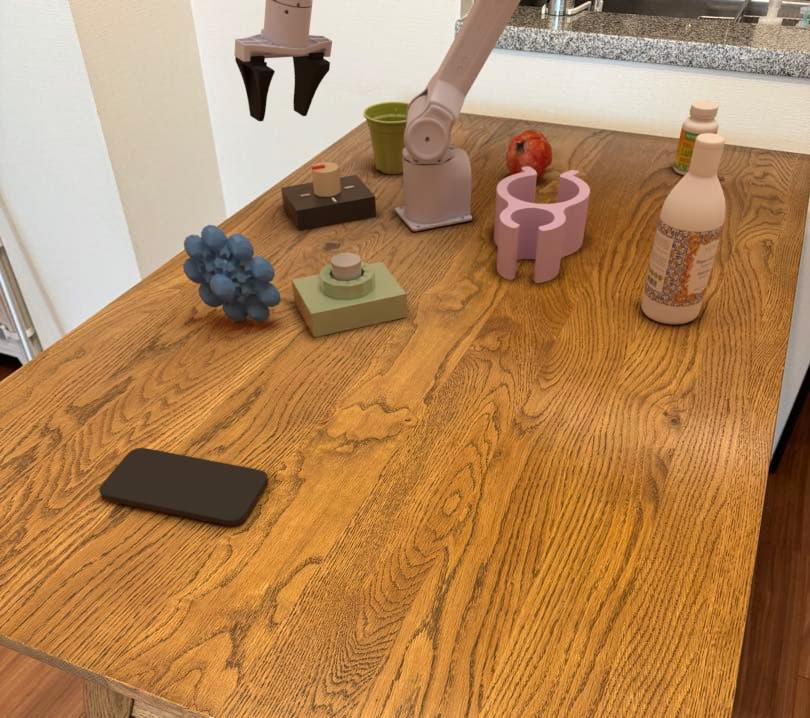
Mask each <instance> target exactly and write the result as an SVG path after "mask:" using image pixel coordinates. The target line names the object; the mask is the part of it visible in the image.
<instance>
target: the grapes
mask: <svg viewBox="0 0 810 718" xmlns="http://www.w3.org/2000/svg"><path fill="white" fill-rule="evenodd" d="M183 248H184V251H185V252H186V254H187V256H188V258H187V259H185V260H184V262H183V265H182V269H183V273H184V274H185V276H186V278H187V279H188V280H189V281H191V282H193V283H195V284H197V285H199V287H198V290H197V291H198V295H199V297H200V299H201V300H202V302H203V303H204V304H205V305H207V306H208V307H210V308H218V307H220V306H222V311H223V313H224V315H225V316H226V318H228V319H229V320H230V321H232V322H234V323H242V322H244V321H246V320H247V318H248V317H249V318H250V319H251V320H252V321H254V322H256V323H264V322H266V321H268V320H269V318H270V316H271V313H270V308H274V307H276V306H278V305H279V304H280V303H281V299H282V298H281V293H280V291H279V289H278V288H277V286H276V285H274V283H271V282H272V281H273V280H274V278H275V275H276V274H275V268H274V266H273V265H272V263H271V261H270V260H268V259H267V258H265V257H264V256H260V255H255V250H254V246H253V244H252V242H251V240H250V239H249V238H248V237H247V236H244V234H242V233H233V234H231V235H230V236H228V237H227V235H226V233H225V232H224V230H223V229H221V228H219V227H218V226H216V225H213V224H207V225H206V226H204V227H203V228H202V230H201V232H200V235H198V234H190V235H188V236H186V237H185V239H184V241H183ZM254 255H255V256H254Z"/></svg>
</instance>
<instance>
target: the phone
mask: <svg viewBox="0 0 810 718" xmlns="http://www.w3.org/2000/svg"><path fill="white" fill-rule="evenodd" d="M268 484H269V479H268V474H267V473H266V471H264V470H261V469H256V468H252V467H246V466H240V465H236V464H231V463H226V462H220V461H215V460H210V459H204V458H200V457H194V456H188V455H184V454H179V453H173V452H167V451H162V450H157V449H152V448H146V447H137V448H134V449H131V450H130V451H129V452H128V453H127V454H126V455H125V456H124V457H123V459H122V460H121V461H120V462H119V463H118V464H117V466H116V467H115V468H114V469H113V470H112V472H111V473H110V474H109V475H108V476H107V478H106V479H104V481H103V482H102V484H100V486H99V494H100V496H101V498H102V499H103V500H105V501H109V502H114V503H118V504H123V505H128V506H133V507H138V508H143V509H148V510H152V511H157V512H162V513H165V514H166V513H167V514H171V515H176V516H180V517H185V518H191V519H195V520H199V521H204V522H205V521H206V522H211V523H214V524H220V525H224V526H229V527H232V526H239V525H241V524H242V523H244V522H245V521H246V520H247V518H248V517H249V515H250V513H251V512H252V510H253V508H254V507H255V505H256V504H257V502H258V500H259V499H260V497H262V494H263V492H264V491H265V489H266V487H267V486H268Z"/></svg>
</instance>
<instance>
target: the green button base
mask: <svg viewBox="0 0 810 718" xmlns="http://www.w3.org/2000/svg"><path fill="white" fill-rule="evenodd" d="M361 267H362V276H361V277H360V278H358V279H356V280H351V281H338V280H336V279H333V277H332V267H331V262H330V263H328V264H327V265H325V266H324V267H322V268H321V270H320V272H319V273H318V274H313V275H307V276H303V277H302V276H301V277H298V278H294V279H293V278H292V279H291V285H292V292H293V300H294V304H295V306H296V308H297V309H298V311H299V313H300V314H301V316H302V319H303V320H304V322H305V324H306V325H307V327H308V329H309V331H310V333H311V334H312V336H313V338H318V337H324V336H327V335H331V334H337V333H341V332H346V331H350V330H356V329H359V328H364V327H369V326H374V325H377V324H382V323H386V322H391V321H396V320H400V319H404V318H405V319H406V318H408V296H407V295H408V293H407V292H406V291H405V289H404V288H403V287H402V285H401V284H400V283H399V281H398V280H397V279H396V278H395V276H394V275H393V274H392V273H391V271H390V270H389V268H388V267H387V266H386V265H385V263H384V262H383V261H377V262H372V263H367V262H365V261H362V260H361Z"/></svg>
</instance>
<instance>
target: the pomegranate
mask: <svg viewBox="0 0 810 718" xmlns="http://www.w3.org/2000/svg"><path fill="white" fill-rule="evenodd" d="M505 160H506V162H505V163H506V167H507V169H508V172H509V173H510V175H514V174H518V173H521V170H522V167H526V166H528V167H531V168H532V169H534V170H535V171H536V172H537V179H536V182H537V181H538V180H540V179H541V178H543V177H544V175H545V174H546V170H547V168H548V167H550V166H551V165H552V162H553V147H552V145H551V143H550V142H549V141H548V139H547V138H546V137H545V135H544V133H543V132H542V131H540V130H536V129H528V130H524V131H523V132H522V133H521V134H518V135H517V136H514V137H513V138H512V139H511V140H510V143H509V145H508V150H507V152H506V155H505Z"/></svg>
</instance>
